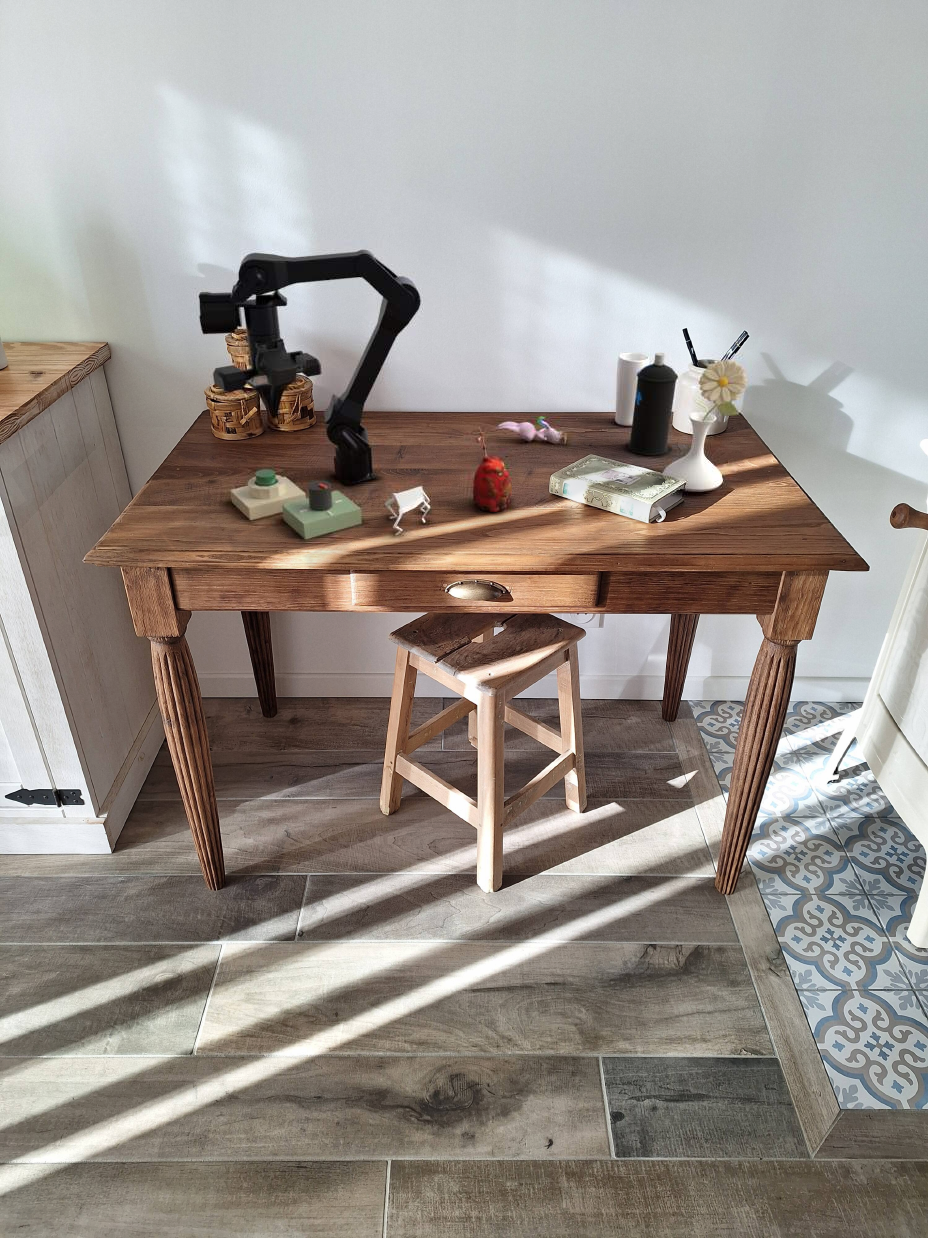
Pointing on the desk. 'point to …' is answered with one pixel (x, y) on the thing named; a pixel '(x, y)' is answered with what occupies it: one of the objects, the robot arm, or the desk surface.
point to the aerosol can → (653, 408)
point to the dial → (320, 495)
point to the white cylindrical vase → (627, 385)
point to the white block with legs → (408, 503)
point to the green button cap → (265, 477)
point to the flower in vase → (721, 388)
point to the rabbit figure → (534, 431)
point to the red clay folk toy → (491, 483)
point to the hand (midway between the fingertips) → (273, 417)
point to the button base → (265, 497)
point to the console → (321, 516)
